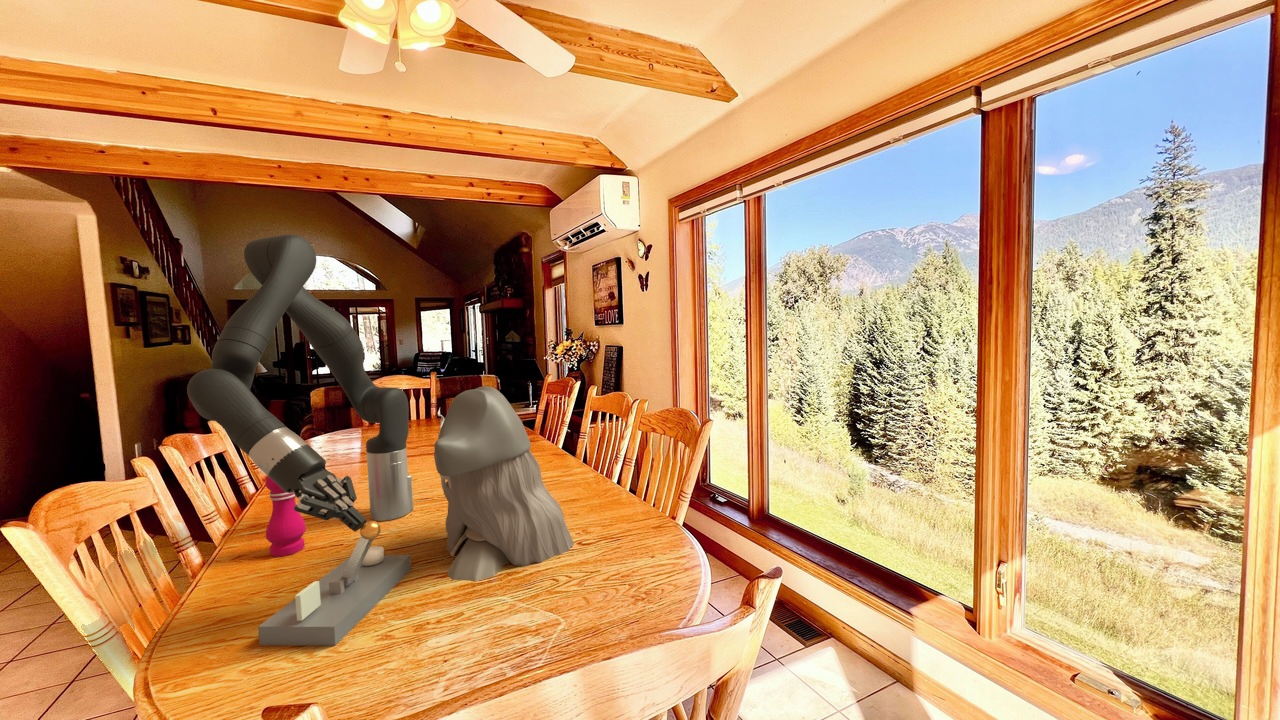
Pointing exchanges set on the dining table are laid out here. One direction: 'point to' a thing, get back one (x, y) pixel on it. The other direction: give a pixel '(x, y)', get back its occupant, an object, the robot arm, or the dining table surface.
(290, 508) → the pepper mill
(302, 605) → the paddle switch
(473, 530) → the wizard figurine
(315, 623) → the control panel
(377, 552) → the push button
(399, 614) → the dining table surface
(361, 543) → the toggle lever
